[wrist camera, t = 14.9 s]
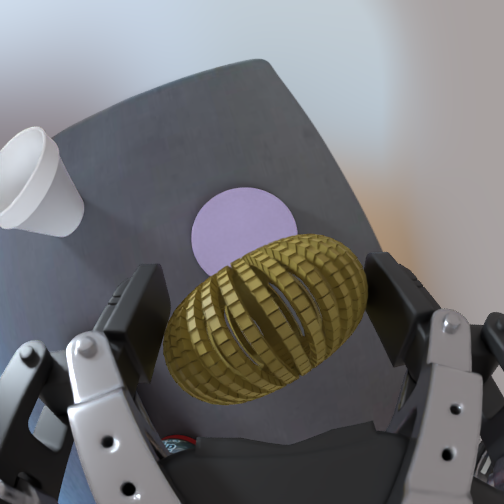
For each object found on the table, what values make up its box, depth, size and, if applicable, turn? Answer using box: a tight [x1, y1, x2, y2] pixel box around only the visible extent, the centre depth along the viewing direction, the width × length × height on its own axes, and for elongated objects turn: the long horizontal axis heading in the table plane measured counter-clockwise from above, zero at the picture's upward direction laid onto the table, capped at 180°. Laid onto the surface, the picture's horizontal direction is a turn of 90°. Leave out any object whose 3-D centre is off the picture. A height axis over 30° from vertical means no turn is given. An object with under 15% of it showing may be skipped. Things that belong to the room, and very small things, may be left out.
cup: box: [0, 127, 84, 237], centre depth 27 cm, size 12×12×14 cm
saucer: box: [191, 188, 298, 283], centre depth 32 cm, size 12×12×1 cm
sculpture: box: [163, 234, 368, 405], centre depth 10 cm, size 8×4×8 cm, turn 122°
